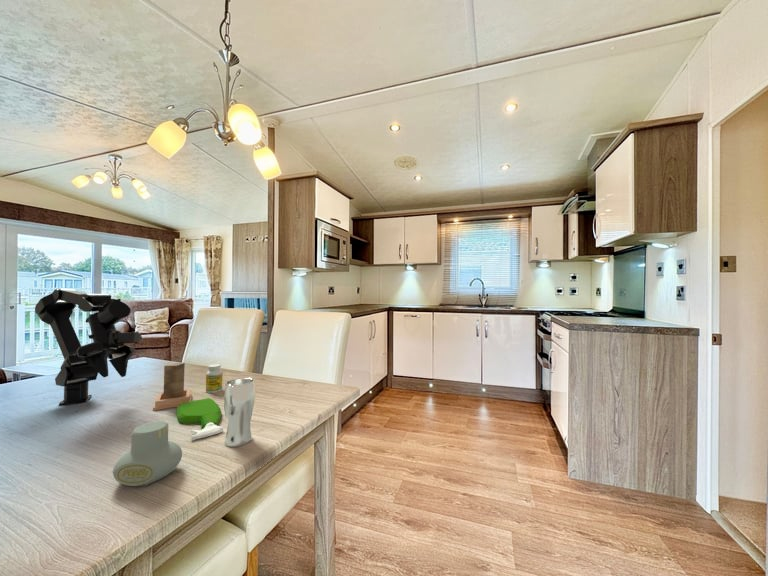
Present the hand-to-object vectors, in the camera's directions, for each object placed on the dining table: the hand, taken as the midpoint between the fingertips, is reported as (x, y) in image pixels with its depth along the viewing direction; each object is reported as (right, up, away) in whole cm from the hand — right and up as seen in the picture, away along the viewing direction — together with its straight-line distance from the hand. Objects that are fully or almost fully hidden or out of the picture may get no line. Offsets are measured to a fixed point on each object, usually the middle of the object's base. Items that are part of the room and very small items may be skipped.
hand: (115, 376), depth 93 cm
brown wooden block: (+13, -10, +7) cm, 18 cm away
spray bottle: (+31, -11, -7) cm, 34 cm away
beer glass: (+47, -11, -18) cm, 52 cm away
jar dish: (+13, -11, +7) cm, 19 cm away
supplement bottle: (+20, -11, +19) cm, 30 cm away
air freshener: (+36, -11, -33) cm, 50 cm away
